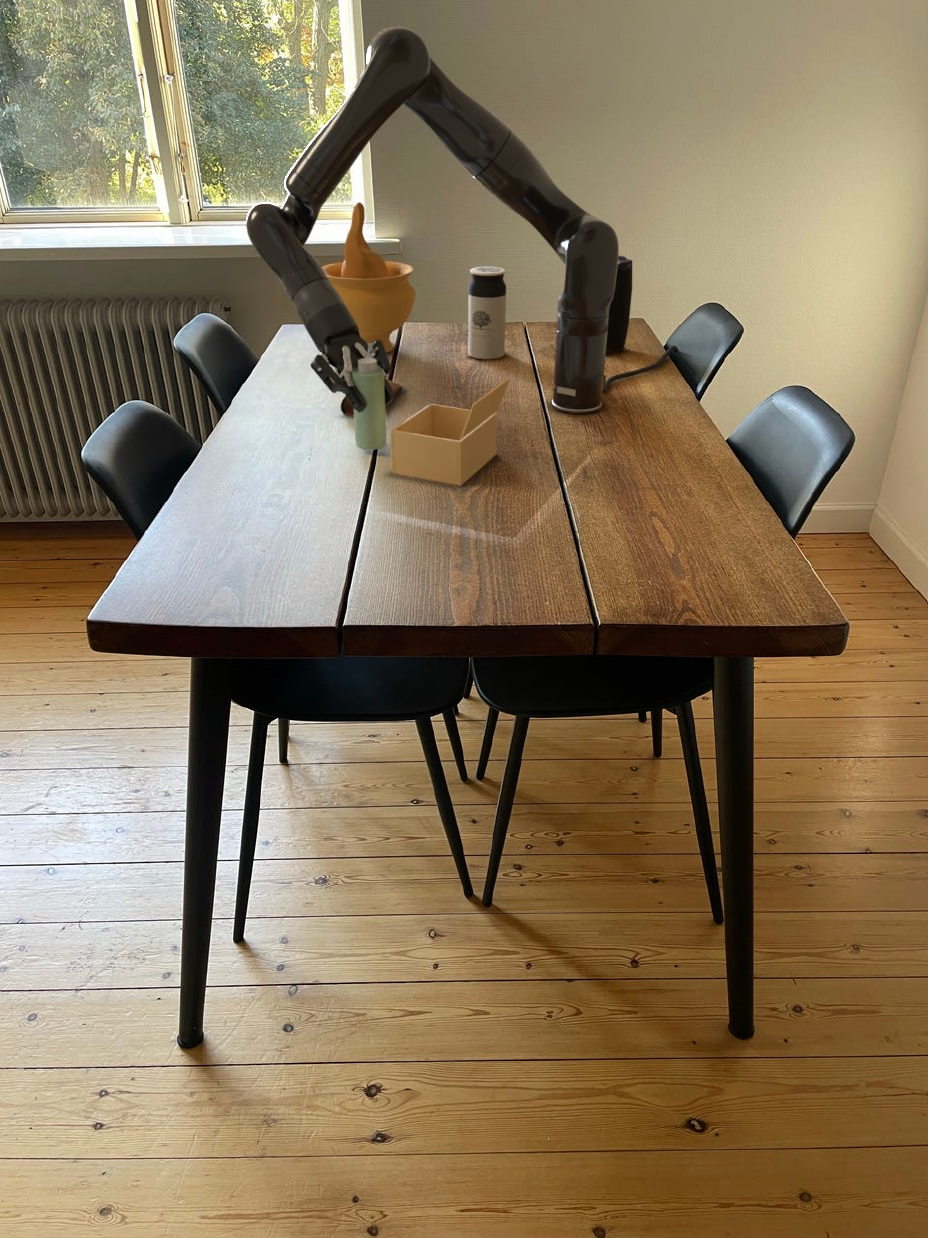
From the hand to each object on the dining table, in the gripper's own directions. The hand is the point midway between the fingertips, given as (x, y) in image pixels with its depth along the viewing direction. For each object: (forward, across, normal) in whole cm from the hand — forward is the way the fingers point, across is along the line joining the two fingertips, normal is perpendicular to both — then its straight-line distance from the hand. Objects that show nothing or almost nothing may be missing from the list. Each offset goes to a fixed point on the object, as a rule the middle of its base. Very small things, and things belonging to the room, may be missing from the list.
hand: (376, 404), depth 149 cm
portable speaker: (-2, +77, +14) cm, 79 cm away
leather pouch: (-9, +17, +22) cm, 29 cm away
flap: (+11, +7, -14) cm, 19 cm away
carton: (+14, +5, -2) cm, 15 cm away
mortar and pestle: (-29, +41, +42) cm, 65 cm away
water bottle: (+4, 0, +6) cm, 7 cm away
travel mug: (-13, +55, +26) cm, 63 cm away
